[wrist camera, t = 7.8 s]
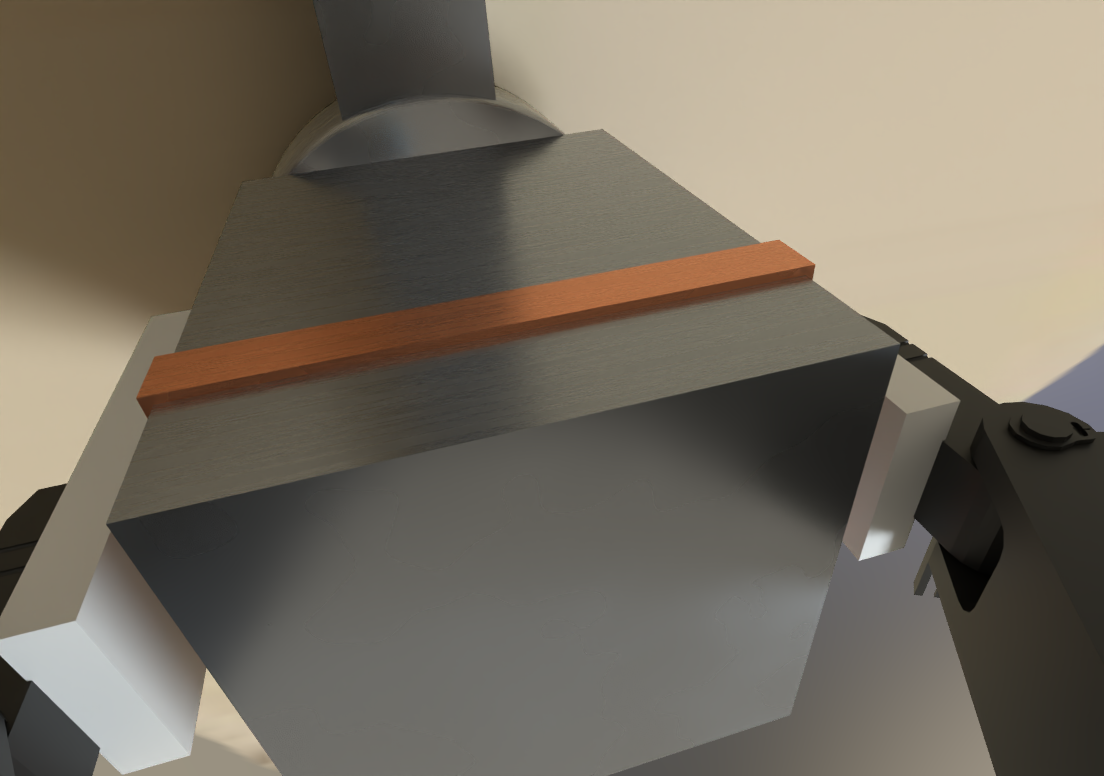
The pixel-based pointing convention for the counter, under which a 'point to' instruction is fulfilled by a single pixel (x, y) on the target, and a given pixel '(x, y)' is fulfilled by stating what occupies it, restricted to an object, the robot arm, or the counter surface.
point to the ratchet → (408, 86)
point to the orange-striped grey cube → (500, 464)
